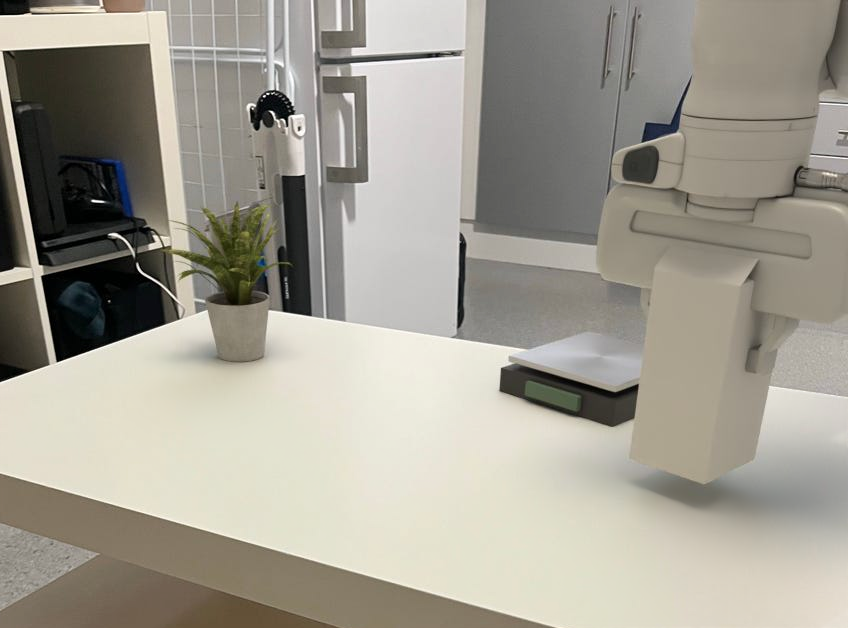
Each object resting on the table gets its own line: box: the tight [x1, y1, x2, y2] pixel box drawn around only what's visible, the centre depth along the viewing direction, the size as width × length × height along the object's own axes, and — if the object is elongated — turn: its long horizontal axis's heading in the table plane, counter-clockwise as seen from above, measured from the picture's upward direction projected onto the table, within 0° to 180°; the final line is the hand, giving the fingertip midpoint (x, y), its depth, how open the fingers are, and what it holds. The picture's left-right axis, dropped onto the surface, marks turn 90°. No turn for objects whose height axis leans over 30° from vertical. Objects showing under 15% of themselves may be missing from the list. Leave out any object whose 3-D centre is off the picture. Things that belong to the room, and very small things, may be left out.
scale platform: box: [507, 330, 644, 392], centre depth 101 cm, size 13×13×1 cm
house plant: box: [159, 200, 294, 363], centre depth 111 cm, size 14×14×16 cm
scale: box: [498, 363, 639, 427], centre depth 102 cm, size 15×14×2 cm
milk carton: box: [629, 245, 774, 485], centre depth 77 cm, size 7×7×19 cm
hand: (707, 359), depth 77 cm, fingers closed on milk carton, 7 cm apart
